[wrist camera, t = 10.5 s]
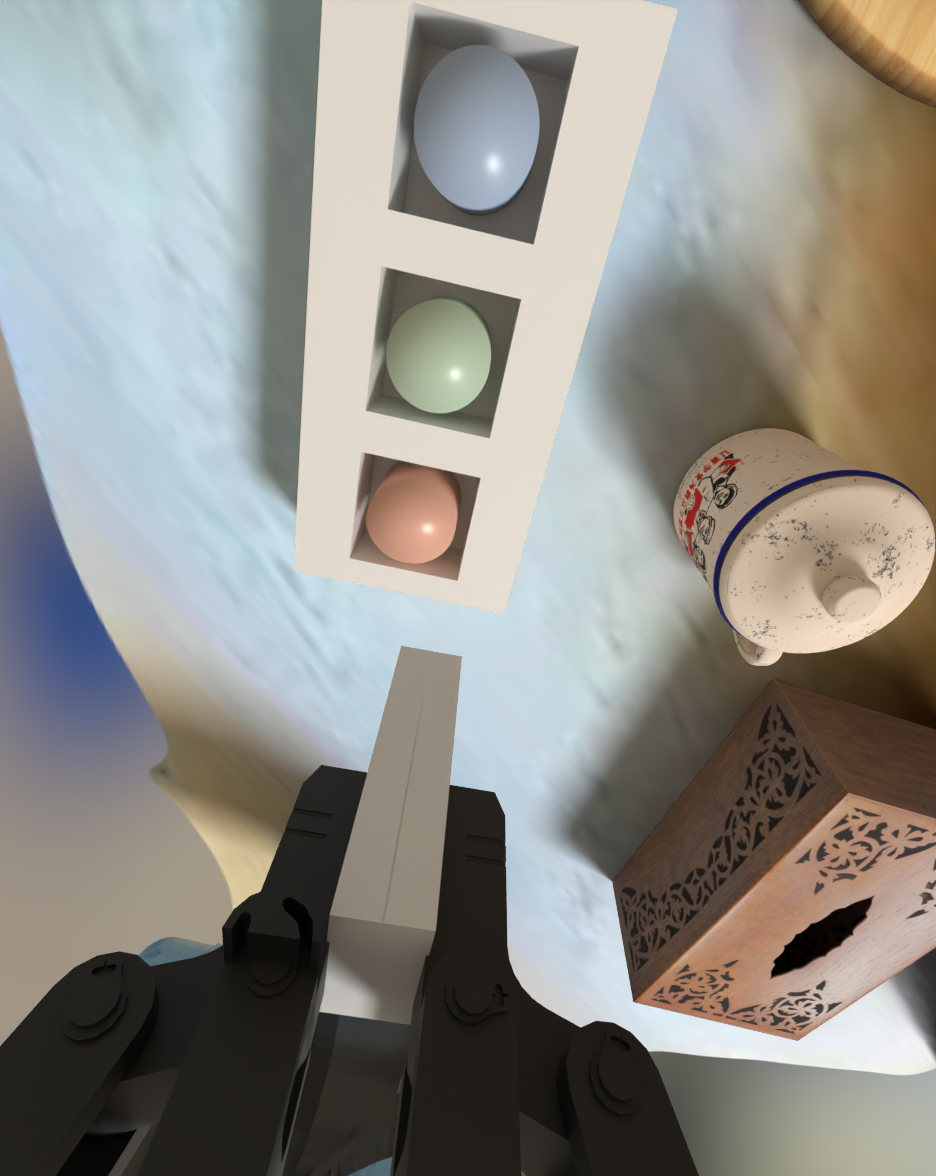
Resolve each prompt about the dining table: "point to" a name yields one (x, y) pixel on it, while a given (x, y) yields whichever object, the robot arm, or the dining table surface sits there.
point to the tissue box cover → (787, 868)
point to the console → (457, 271)
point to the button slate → (477, 128)
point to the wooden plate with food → (885, 40)
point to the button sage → (439, 354)
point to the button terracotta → (414, 512)
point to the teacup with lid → (800, 543)
